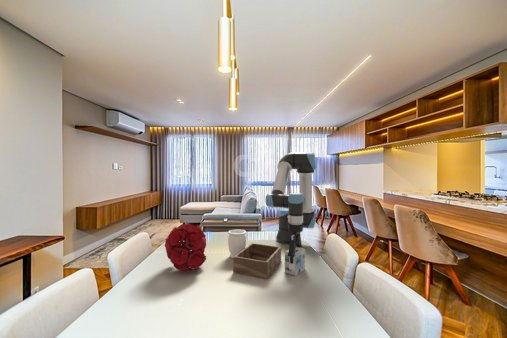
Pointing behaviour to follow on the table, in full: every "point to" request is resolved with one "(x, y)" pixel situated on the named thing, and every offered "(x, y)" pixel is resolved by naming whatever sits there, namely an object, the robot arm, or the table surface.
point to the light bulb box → (296, 261)
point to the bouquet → (186, 247)
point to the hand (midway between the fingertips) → (295, 264)
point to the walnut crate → (257, 260)
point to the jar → (236, 241)
